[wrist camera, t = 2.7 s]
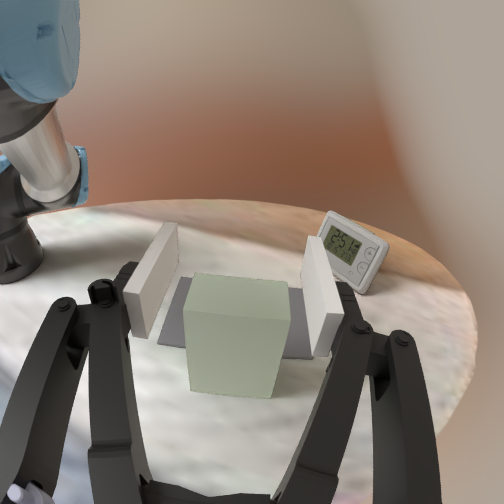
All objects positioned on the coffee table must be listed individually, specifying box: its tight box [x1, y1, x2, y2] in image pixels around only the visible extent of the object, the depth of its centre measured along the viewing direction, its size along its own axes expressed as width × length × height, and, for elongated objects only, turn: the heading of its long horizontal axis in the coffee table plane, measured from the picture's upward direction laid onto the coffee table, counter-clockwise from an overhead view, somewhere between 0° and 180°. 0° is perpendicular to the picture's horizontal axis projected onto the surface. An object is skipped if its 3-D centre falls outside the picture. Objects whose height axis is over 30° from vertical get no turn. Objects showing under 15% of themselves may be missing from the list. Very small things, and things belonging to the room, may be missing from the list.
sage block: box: [183, 273, 291, 399], centre depth 34 cm, size 6×10×14 cm, turn 88°
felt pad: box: [157, 277, 313, 359], centre depth 47 cm, size 16×22×1 cm
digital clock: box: [316, 211, 389, 294], centre depth 58 cm, size 16×9×11 cm, turn 22°
